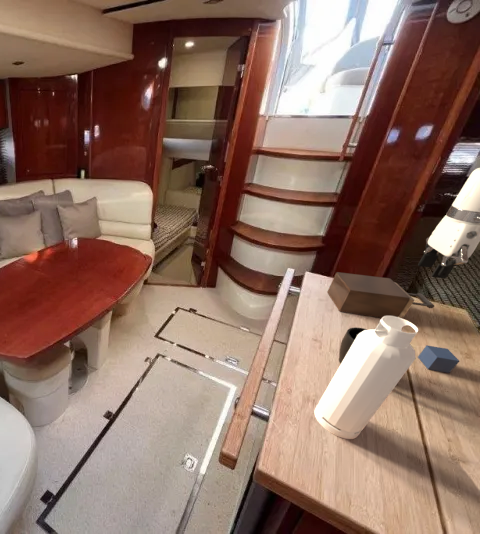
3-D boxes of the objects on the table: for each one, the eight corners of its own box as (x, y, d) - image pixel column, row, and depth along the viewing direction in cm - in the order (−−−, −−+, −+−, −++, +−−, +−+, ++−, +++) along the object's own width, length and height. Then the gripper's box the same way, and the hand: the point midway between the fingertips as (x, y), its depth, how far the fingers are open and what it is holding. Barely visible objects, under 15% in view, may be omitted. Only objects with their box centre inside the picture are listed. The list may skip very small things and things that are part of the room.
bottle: (367, 443, 63) (445, 344, 49) (322, 433, 65) (385, 335, 51) (348, 409, 70) (412, 313, 56) (308, 401, 72) (360, 307, 58)
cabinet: (378, 299, 105) (390, 278, 101) (396, 320, 96) (410, 298, 92) (327, 292, 110) (336, 271, 105) (339, 311, 100) (350, 290, 96)
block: (438, 360, 81) (447, 348, 79) (449, 373, 78) (459, 361, 76) (417, 357, 83) (426, 345, 80) (427, 369, 79) (437, 357, 77)
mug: (348, 385, 75) (365, 358, 71) (327, 351, 85) (341, 325, 81) (387, 392, 73) (408, 364, 69) (361, 356, 83) (378, 329, 79)
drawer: (411, 302, 102) (421, 285, 99) (430, 321, 94) (443, 304, 90) (337, 292, 108) (345, 276, 104) (350, 309, 99) (359, 292, 96)
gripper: (513, 228, 74) (468, 289, 83) (462, 206, 89) (428, 260, 98) (473, 225, 77) (433, 284, 86) (430, 204, 91) (399, 257, 100)
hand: (431, 271), depth 91 cm, fingers open, 5 cm apart
